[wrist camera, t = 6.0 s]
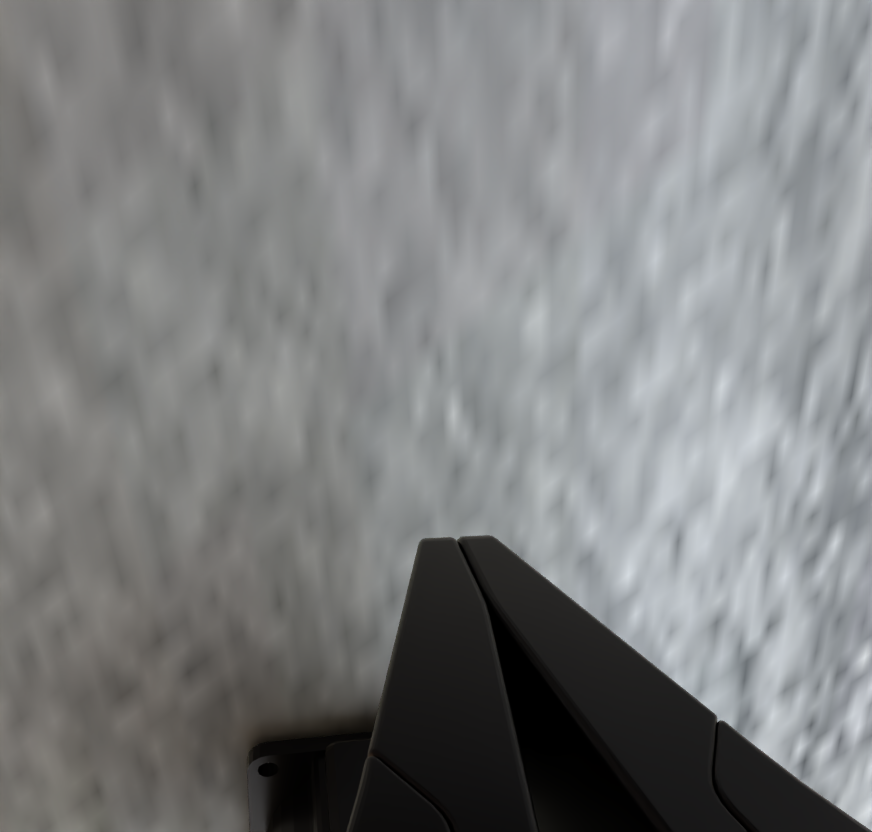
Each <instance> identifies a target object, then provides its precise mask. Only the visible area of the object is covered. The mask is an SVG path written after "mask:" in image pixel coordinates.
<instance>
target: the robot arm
mask: <svg viewBox="0 0 872 832" xmlns="http://www.w3.org/2000/svg"><path fill="white" fill-rule="evenodd" d="M247 779H248V799H249V820H250V832H872V831H871V830H869V829H868V828H867V827H865V826H864V825H862V824H861V823H859V822H858V821H856V820H855V819H854V818H852V817H851V816H849V815H848V814H846V813H845V812H844V811H842V810H841V809H839V808H838V807H837V806H835V805H834V804H832V803H831V802H830V801H828V800H827V799H825V798H824V797H823V796H821V795H820V794H818V793H817V792H815V791H814V790H813V789H811V788H810V787H808V786H807V785H806V784H804V783H803V782H801V781H800V780H799V779H797V778H796V777H795V776H794V775H792V774H791V773H790V772H788V771H787V770H786V769H784V768H783V767H782V766H781V765H779V764H778V763H777V762H775V761H774V760H773V759H771V758H770V757H769V756H768V755H766V754H765V753H764V752H762V751H761V750H760V749H758V748H757V747H756V746H755V745H753V744H752V743H751V742H750V741H748V740H747V739H746V738H745V737H743V736H742V735H741V734H740V733H738V732H737V731H736V730H735V729H733V728H732V727H731V726H730V725H728V724H727V723H726V722H725V721H719V722H718V723H717V716H716V715H715V714H714V713H713V712H712V711H710V710H709V709H708V708H707V707H706V706H704V705H703V704H702V703H701V702H699V701H698V700H697V699H696V698H694V697H693V696H692V695H691V694H689V693H688V692H687V691H686V690H684V689H683V688H682V687H681V686H679V685H678V684H677V683H676V682H674V681H673V680H672V679H671V678H669V677H668V676H667V675H666V674H664V673H663V672H662V671H661V670H659V669H658V668H657V667H656V666H654V665H653V664H652V663H651V662H649V661H648V660H647V659H646V658H645V657H643V656H642V655H641V654H640V653H638V652H637V651H636V650H635V649H633V648H632V647H631V646H630V645H628V644H627V643H626V642H625V641H623V640H622V639H621V638H620V637H618V636H617V635H616V634H615V633H613V632H612V631H611V630H610V629H608V628H607V627H606V626H605V625H603V624H602V623H601V622H600V621H598V620H597V619H596V618H595V617H593V616H592V615H591V614H590V613H588V612H587V611H586V610H585V609H583V608H582V607H581V606H580V605H579V604H577V603H576V602H575V601H574V600H572V599H571V598H570V597H569V596H567V595H566V594H565V593H564V592H562V591H561V590H560V589H559V588H557V587H556V586H555V585H554V584H552V583H551V582H550V581H549V580H547V579H546V578H545V577H544V576H542V575H541V574H540V573H539V572H537V571H536V570H535V569H534V568H532V567H531V566H530V565H529V564H527V563H526V562H525V561H524V560H522V559H521V558H520V557H519V556H518V555H516V554H515V553H514V552H513V551H511V550H510V549H509V548H508V547H506V546H505V545H504V544H503V543H501V542H500V541H499V540H498V539H496V538H495V537H493V536H489V535H484V536H464V537H460V538H459V539H458V540H457V541H456V539H454V538H451V537H443V538H425V539H422V540H421V541H420V542H419V545H418V549H417V553H416V557H415V561H414V565H413V569H412V573H411V578H410V582H409V586H408V590H407V594H406V598H405V602H404V606H403V610H402V614H401V619H400V623H399V627H398V631H397V635H396V639H395V643H394V647H393V651H392V655H391V660H390V664H389V668H388V672H387V676H386V680H385V684H384V688H383V692H382V696H381V701H380V705H379V709H378V713H377V717H376V721H375V725H374V729H373V732H369V733H359V734H348V735H338V736H327V737H317V738H306V739H296V740H285V741H275V742H266V743H262V744H259V745H257V746H255V747H253V748H252V750H251V751H250V752H249V754H248V761H247Z"/></svg>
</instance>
